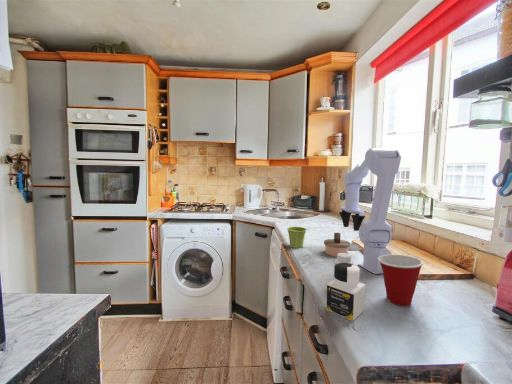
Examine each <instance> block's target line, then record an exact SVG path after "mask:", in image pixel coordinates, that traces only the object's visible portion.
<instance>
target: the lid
mask: <svg viewBox="0 0 512 384" xmlns="http://www.w3.org/2000/svg"><path fill="white" fill-rule="evenodd" d="M323 244H324V246H325V245H326V246H329V247H334V248H348V247H350V246H351V244H352V243H351V242H350V241H348V240H345V239H341V232H334V233H333V238H328V239H325V240H324V241H323Z"/></svg>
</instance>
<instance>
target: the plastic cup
mask: <svg viewBox="0 0 512 384" xmlns="http://www.w3.org/2000/svg"><path fill="white" fill-rule="evenodd" d="M378 261H379V262H380V264H381V267H382V270H383V273H382V276H383V283H384V288H385V294H386V298H387V300H388V302H390V303H391V304H393V305H397V306H401V307H408V306H410V305H411V304H412V302H413V297H414V294H415V293H416V292H415V291H416V287H417V282H418V278H419V275H420V272H421V268H422V266H423V265H424V261H423V260H422V259H420V258H418V257H414V256H410V255H404V254H392V255H383V256H380V257H378Z"/></svg>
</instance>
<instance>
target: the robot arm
mask: <svg viewBox="0 0 512 384" xmlns="http://www.w3.org/2000/svg"><path fill="white" fill-rule="evenodd" d="M401 160H402V156H401V154H400V152H399V150H398V149H397V148H371V147H370V148H369V149H367V151H366V152H365V156H364V160H363V161H362V163H359V164H356V166H355V167H354V168H353V169H352V170H351V171H350V172H348V171H347V172H345V173H344V174H343V175H344V176H343V183H344V185H345V200H344V201H345V203H344V204H345V205H344V206H340V211H339V213H338V214H339V216H340V217H341V220H342V221H341V222H342V225H343V227H344V228H348V227H349V226H350V219H352V222H353V223H352V226H353V231H355V232H358V238H359V241H360V242H361V243H362V244H363V262H360V263H359V262H358V263H357V265H358V266H360V267H361V268H363V269H365V270H366V271H369V272H370V273H372V274H374V275H380V274H383V270H382V267H381V264H380V262H379V261H378V257H380V256H383V255H393V254H392V252H391V251H390V249H388V248H387V247H388V244H390V242H391V240H392V238H393V236H392V234H393V233H392V228H393V227H392V226H391V224H390V223H389V222H388V221H386V220H387V215H388V212H389V211H388V210H389V206H390V202H391V196H392V192H393V188H394V184H395V178H396V175H398V173H399V168H400V165H401V164H400V163H401ZM369 171H370V172H371V174H373V175H375V176H376V177H377V178H376V183H375V189H374V193H373V198H372V204H371V209H370V214H369V217H368V218H367V219H366V220H364V219H365V218H366V215H365V211H364V210H362V209H361V208H359V207H360V190H361V188H362V183H363V180H364V178H366V177H367V176H368V175H369Z"/></svg>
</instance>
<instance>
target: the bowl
mask: <svg viewBox="0 0 512 384" xmlns="http://www.w3.org/2000/svg"><path fill="white" fill-rule="evenodd" d="M324 247H325V248H324V249H325V251H324V252H325V253H326V255H329V256H330V257H335V258H337V254H338V253H347V254H349V251H348V248H334V247H329V246H326V245H325V244H324Z"/></svg>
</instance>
